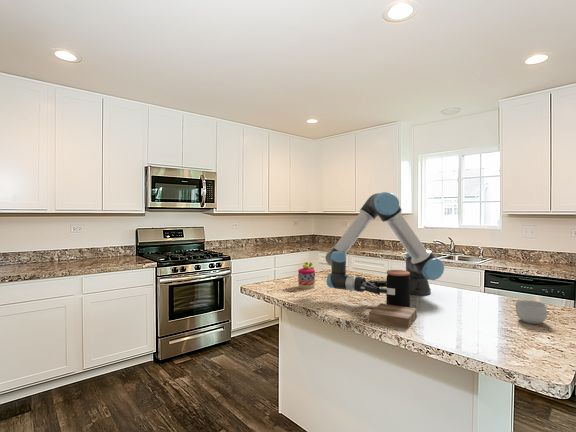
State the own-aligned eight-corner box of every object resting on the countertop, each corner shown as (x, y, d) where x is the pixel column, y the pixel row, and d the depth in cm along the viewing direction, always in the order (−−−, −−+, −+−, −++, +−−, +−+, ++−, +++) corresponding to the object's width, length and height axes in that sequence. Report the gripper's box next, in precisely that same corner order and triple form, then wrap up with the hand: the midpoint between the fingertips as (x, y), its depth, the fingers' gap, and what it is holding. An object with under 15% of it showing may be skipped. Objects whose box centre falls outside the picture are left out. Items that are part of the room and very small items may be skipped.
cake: (315, 289, 200) (315, 264, 200) (298, 289, 200) (298, 264, 200) (314, 285, 211) (314, 261, 210) (297, 285, 211) (297, 261, 211)
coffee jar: (413, 309, 159) (413, 271, 159) (404, 314, 152) (404, 274, 151) (392, 305, 167) (392, 269, 166) (382, 309, 159) (382, 271, 159)
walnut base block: (380, 311, 155) (380, 303, 155) (416, 317, 147) (416, 308, 147) (369, 321, 142) (369, 312, 142) (408, 328, 133) (408, 318, 133)
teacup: (548, 327, 134) (548, 308, 134) (515, 323, 140) (515, 304, 140) (544, 318, 146) (544, 300, 146) (514, 314, 152) (514, 296, 152)
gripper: (364, 286, 181) (405, 291, 169) (346, 296, 160) (391, 303, 148) (364, 272, 180) (405, 276, 169) (346, 280, 159) (391, 286, 148)
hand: (398, 289), depth 158 cm, fingers open, 13 cm apart
